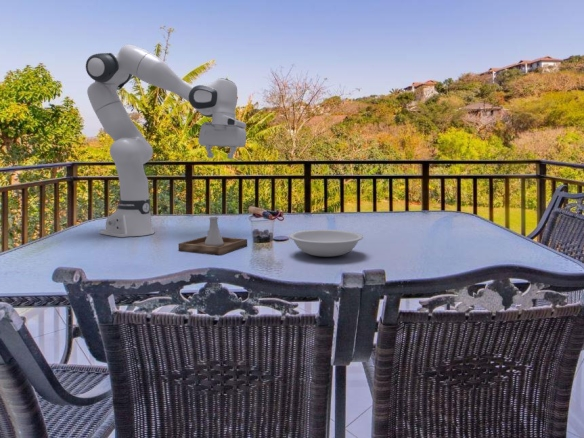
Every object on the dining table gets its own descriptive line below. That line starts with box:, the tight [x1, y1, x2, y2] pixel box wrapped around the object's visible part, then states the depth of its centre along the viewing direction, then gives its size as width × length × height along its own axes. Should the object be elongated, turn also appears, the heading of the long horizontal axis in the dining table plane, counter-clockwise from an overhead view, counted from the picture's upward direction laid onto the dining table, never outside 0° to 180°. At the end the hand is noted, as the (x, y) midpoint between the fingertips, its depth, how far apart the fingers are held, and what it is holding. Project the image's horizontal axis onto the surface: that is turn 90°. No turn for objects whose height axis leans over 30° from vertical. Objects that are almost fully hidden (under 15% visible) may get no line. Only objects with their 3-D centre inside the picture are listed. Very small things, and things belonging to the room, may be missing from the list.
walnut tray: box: [178, 235, 248, 256], centre depth 169 cm, size 17×17×2 cm
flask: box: [204, 216, 224, 247], centre depth 168 cm, size 7×7×10 cm
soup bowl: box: [288, 229, 364, 258], centre depth 157 cm, size 24×24×7 cm
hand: (220, 158), depth 187 cm, fingers open, 8 cm apart
